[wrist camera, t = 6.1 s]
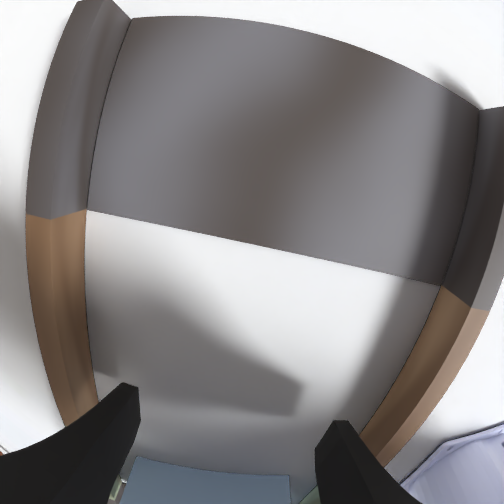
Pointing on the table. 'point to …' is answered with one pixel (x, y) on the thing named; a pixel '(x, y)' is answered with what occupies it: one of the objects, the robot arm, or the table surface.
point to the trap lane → (264, 178)
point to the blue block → (200, 486)
